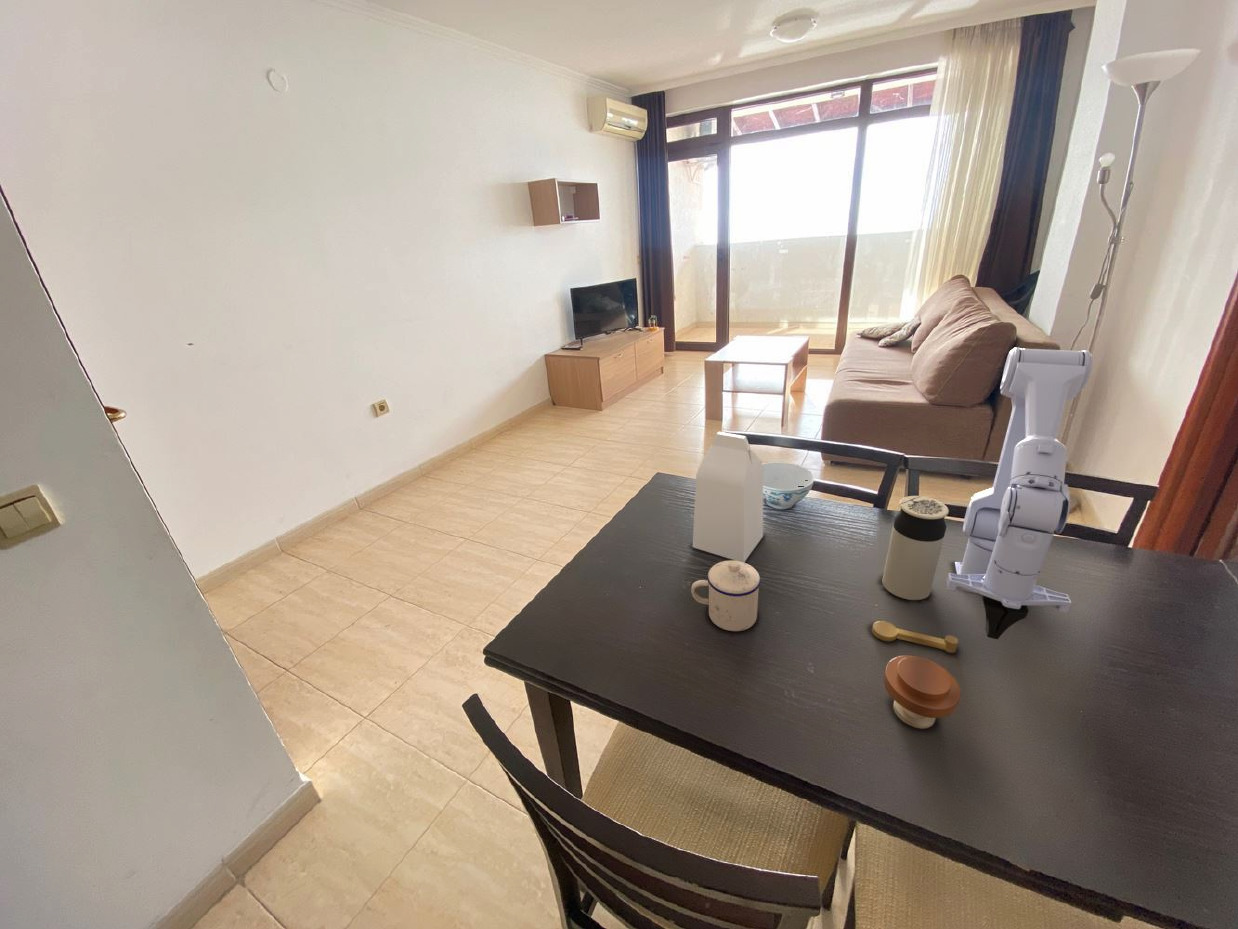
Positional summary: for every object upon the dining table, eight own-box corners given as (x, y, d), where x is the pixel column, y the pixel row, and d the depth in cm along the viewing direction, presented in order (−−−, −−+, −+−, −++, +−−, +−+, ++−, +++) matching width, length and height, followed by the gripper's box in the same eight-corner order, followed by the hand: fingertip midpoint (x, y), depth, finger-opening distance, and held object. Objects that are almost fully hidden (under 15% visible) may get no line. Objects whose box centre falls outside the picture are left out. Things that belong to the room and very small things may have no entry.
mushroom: (947, 697, 73) (958, 660, 70) (954, 751, 66) (967, 712, 63) (878, 678, 77) (886, 642, 74) (878, 728, 70) (887, 690, 66)
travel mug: (940, 595, 92) (962, 512, 84) (904, 606, 90) (923, 522, 83) (906, 570, 99) (923, 491, 91) (872, 579, 97) (887, 499, 90)
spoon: (954, 641, 82) (956, 632, 81) (956, 658, 79) (959, 649, 78) (872, 622, 87) (873, 614, 86) (871, 637, 84) (873, 629, 83)
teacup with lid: (757, 600, 94) (760, 549, 89) (759, 635, 86) (762, 582, 81) (693, 595, 97) (692, 545, 92) (689, 629, 89) (688, 577, 84)
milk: (692, 547, 111) (691, 440, 100) (714, 522, 120) (715, 421, 109) (743, 563, 105) (748, 450, 94) (763, 536, 113) (769, 429, 102)
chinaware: (775, 524, 117) (777, 495, 114) (737, 497, 130) (738, 470, 126) (824, 507, 122) (828, 479, 119) (783, 483, 135) (785, 457, 131)
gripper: (959, 568, 71) (939, 639, 77) (1090, 592, 65) (1058, 666, 71) (953, 541, 77) (935, 609, 83) (1073, 560, 71) (1045, 632, 77)
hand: (991, 634), depth 77 cm, fingers closed
